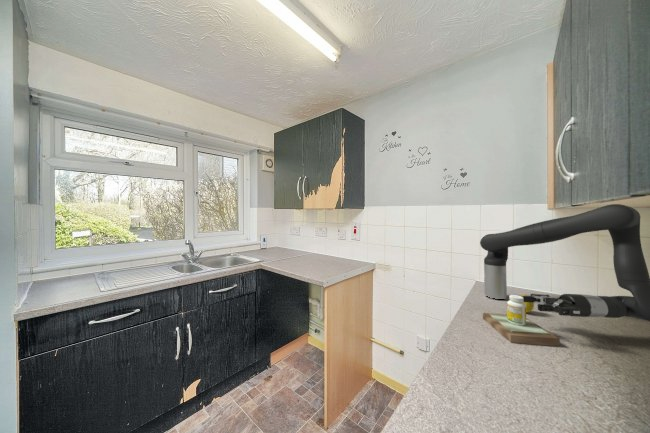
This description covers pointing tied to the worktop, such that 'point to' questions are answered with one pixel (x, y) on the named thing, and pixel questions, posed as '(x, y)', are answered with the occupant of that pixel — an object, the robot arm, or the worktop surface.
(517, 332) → the brown flat wooden block
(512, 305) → the supplement bottle
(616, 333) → the worktop surface
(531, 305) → the lemon
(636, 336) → the worktop surface
